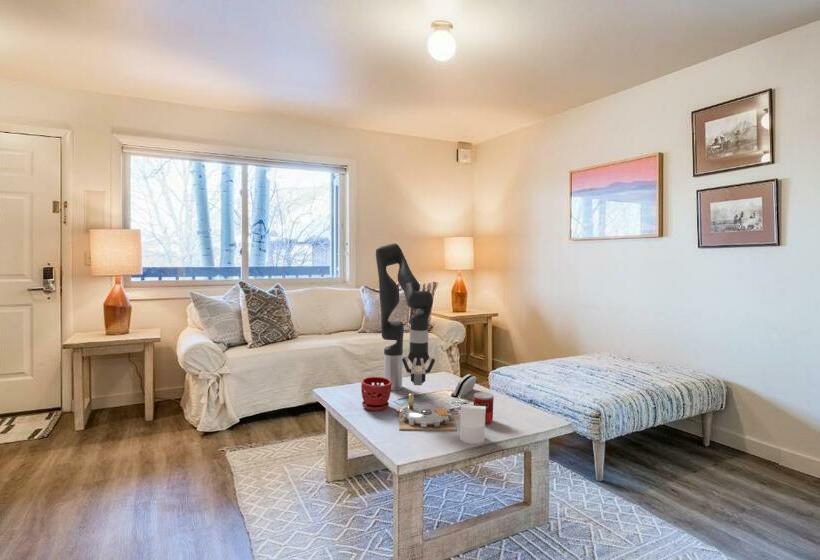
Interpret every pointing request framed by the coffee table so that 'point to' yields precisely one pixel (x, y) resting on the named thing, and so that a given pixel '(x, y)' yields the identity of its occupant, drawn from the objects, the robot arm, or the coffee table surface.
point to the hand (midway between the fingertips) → (418, 382)
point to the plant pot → (375, 393)
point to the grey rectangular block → (417, 378)
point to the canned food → (485, 404)
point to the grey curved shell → (465, 385)
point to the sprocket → (425, 414)
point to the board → (442, 427)
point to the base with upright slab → (472, 424)
